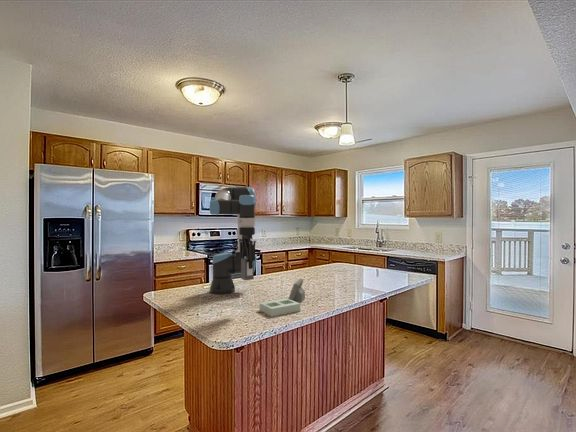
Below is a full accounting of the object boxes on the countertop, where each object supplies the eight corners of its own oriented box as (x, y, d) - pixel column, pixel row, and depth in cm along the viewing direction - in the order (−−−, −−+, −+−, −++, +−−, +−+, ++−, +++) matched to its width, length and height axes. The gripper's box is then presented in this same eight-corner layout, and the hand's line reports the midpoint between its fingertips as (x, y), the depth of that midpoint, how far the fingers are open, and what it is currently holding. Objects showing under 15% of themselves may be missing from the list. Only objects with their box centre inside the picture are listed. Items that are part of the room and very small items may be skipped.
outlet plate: (259, 310, 158) (259, 303, 158) (286, 305, 166) (286, 298, 166) (271, 316, 148) (271, 308, 148) (300, 310, 156) (300, 303, 156)
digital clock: (295, 295, 186) (295, 277, 186) (309, 297, 182) (309, 278, 182) (282, 302, 172) (282, 282, 172) (298, 304, 168) (297, 284, 168)
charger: (241, 278, 158) (241, 256, 158) (249, 277, 161) (249, 255, 161) (245, 280, 154) (245, 257, 154) (253, 279, 157) (253, 256, 157)
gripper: (232, 226, 163) (232, 272, 163) (248, 227, 148) (248, 278, 148) (246, 225, 167) (246, 270, 167) (262, 227, 152) (262, 276, 152)
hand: (247, 274), depth 158 cm, fingers closed on charger, 4 cm apart
